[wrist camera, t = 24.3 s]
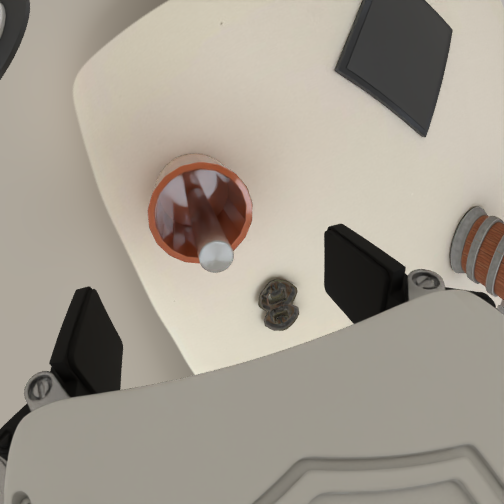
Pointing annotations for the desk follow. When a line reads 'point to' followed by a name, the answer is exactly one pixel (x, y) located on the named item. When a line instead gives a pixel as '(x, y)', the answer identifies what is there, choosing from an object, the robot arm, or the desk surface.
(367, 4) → the tablet
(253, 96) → the desk surface
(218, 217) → the holder
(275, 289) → the corroded twin loop
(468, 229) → the mug
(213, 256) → the stylus
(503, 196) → the desk surface
